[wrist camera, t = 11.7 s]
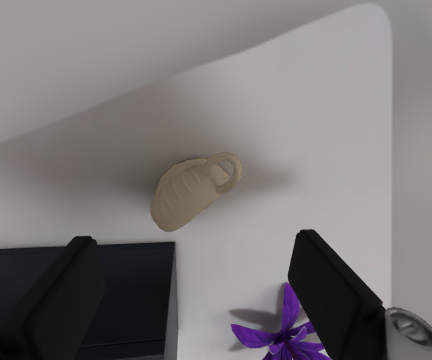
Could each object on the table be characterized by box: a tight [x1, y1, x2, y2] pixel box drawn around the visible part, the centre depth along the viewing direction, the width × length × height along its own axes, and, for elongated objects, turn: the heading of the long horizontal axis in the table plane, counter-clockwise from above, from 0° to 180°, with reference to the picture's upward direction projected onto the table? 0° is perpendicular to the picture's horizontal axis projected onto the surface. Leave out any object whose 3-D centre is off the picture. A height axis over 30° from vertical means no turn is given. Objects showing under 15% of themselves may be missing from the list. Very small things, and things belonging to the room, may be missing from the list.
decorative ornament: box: [150, 152, 242, 232], centre depth 16 cm, size 4×8×5 cm, turn 127°
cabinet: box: [0, 242, 178, 360], centre depth 17 cm, size 17×13×10 cm
